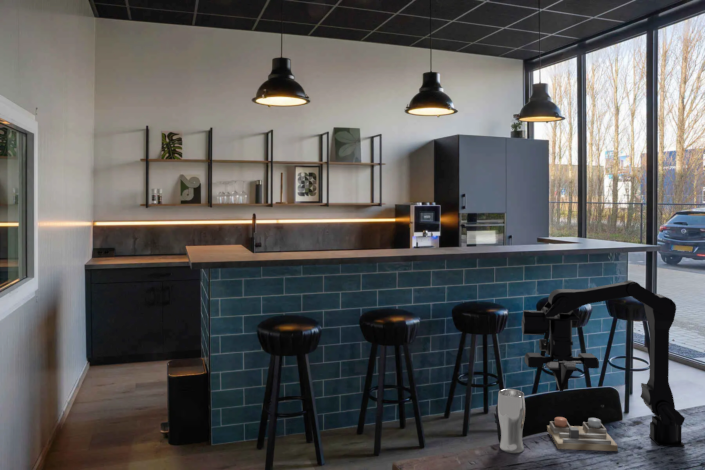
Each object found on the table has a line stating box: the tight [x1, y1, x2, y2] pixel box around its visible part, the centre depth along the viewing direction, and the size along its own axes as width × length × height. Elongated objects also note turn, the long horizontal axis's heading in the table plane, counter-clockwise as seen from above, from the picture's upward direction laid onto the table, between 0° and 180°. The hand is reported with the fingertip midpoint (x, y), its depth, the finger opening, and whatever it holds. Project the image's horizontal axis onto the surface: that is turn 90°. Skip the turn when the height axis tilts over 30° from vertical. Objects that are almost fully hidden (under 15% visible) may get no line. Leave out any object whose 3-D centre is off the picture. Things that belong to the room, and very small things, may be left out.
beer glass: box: [497, 388, 526, 454], centre depth 142 cm, size 7×7×15 cm
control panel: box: [546, 420, 619, 452], centre depth 147 cm, size 15×12×3 cm
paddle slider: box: [569, 427, 579, 439], centre depth 143 cm, size 2×2×3 cm
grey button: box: [587, 417, 602, 428], centre depth 149 cm, size 3×3×2 cm
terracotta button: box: [554, 416, 568, 427], centre depth 150 cm, size 3×3×2 cm
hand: (560, 390), depth 149 cm, fingers closed
